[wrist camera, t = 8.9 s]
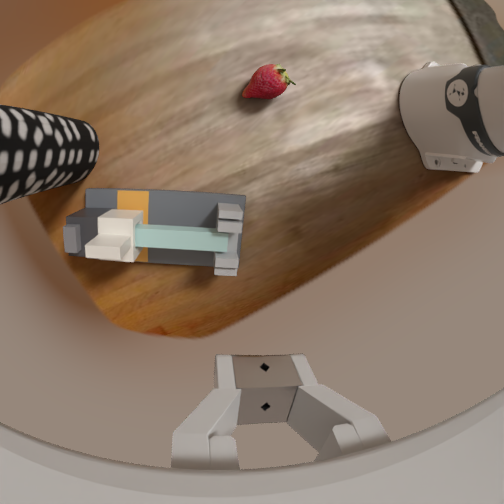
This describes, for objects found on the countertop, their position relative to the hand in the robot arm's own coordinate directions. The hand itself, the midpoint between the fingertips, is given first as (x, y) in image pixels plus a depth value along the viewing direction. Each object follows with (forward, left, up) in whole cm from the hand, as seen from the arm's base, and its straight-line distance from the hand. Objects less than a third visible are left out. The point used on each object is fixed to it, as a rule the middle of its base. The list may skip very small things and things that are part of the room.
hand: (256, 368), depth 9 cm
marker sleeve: (+11, +2, -25) cm, 27 cm away
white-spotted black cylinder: (+20, -7, -27) cm, 35 cm away
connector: (+16, +2, -27) cm, 31 cm away
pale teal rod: (+8, +2, -23) cm, 25 cm away
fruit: (-3, -16, -27) cm, 32 cm away
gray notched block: (0, +2, -27) cm, 27 cm away
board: (+8, +2, -27) cm, 28 cm away
